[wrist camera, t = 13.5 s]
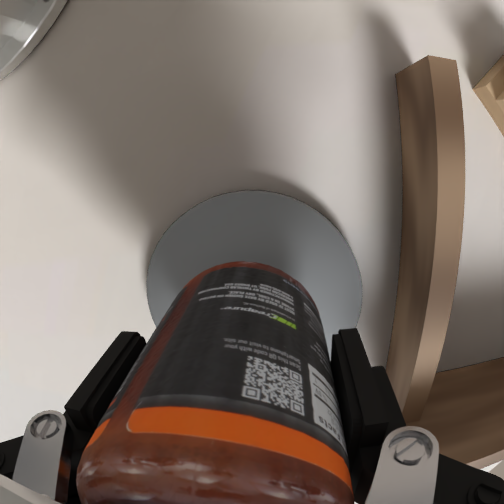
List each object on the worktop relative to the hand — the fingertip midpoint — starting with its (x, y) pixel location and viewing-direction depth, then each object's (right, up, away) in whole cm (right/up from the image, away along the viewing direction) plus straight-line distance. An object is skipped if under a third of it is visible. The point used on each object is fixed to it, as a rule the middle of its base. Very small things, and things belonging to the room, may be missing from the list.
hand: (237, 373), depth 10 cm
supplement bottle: (0, +1, +3) cm, 3 cm away
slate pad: (0, +2, +5) cm, 6 cm away
